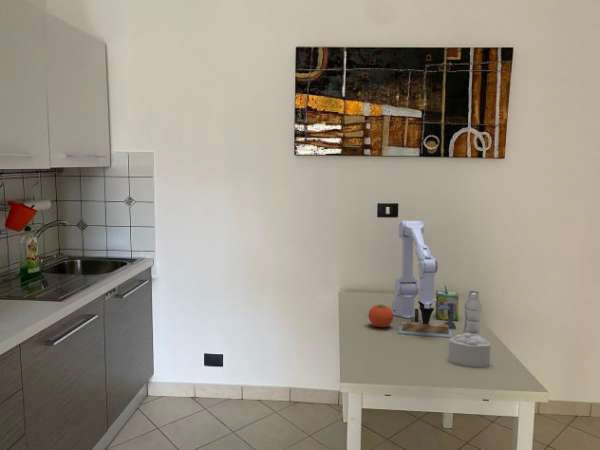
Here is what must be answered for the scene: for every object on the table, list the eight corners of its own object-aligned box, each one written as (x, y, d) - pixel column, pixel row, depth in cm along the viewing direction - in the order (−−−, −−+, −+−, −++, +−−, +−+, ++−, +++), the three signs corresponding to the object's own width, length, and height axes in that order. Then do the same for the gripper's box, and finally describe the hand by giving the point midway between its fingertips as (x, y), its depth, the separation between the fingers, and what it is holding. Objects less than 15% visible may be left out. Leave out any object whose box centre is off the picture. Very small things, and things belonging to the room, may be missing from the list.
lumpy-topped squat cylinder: (491, 367, 160) (493, 342, 159) (452, 365, 160) (453, 340, 160) (481, 355, 170) (483, 332, 169) (444, 354, 171) (446, 330, 170)
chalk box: (457, 321, 211) (459, 288, 210) (436, 319, 213) (437, 287, 211) (455, 315, 220) (457, 284, 219) (434, 314, 222) (436, 282, 220)
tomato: (397, 327, 201) (398, 303, 200) (383, 332, 194) (384, 308, 193) (377, 321, 208) (377, 299, 207) (363, 326, 201) (364, 303, 200)
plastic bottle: (479, 341, 185) (482, 291, 183) (480, 347, 178) (483, 294, 176) (462, 339, 187) (464, 289, 185) (462, 345, 180) (464, 293, 178)
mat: (398, 333, 192) (398, 332, 192) (398, 327, 201) (398, 325, 201) (452, 338, 188) (452, 336, 188) (450, 331, 197) (450, 329, 197)
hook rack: (411, 325, 203) (412, 312, 203) (411, 321, 210) (411, 308, 209) (455, 329, 200) (456, 315, 199) (454, 324, 206) (454, 311, 205)
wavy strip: (402, 330, 195) (402, 323, 195) (402, 328, 198) (402, 321, 198) (448, 334, 191) (448, 327, 191) (447, 331, 194) (448, 324, 194)
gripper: (438, 293, 185) (436, 327, 187) (435, 285, 199) (434, 316, 201) (419, 292, 186) (418, 325, 188) (418, 283, 201) (416, 315, 202)
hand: (425, 321), depth 194 cm, fingers open, 7 cm apart
